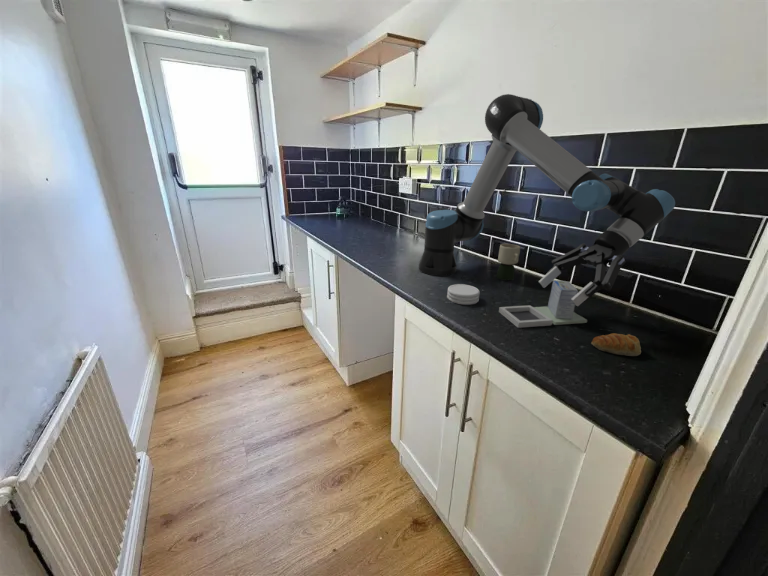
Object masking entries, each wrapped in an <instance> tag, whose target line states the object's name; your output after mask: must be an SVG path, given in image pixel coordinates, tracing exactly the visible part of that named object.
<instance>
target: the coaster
mask: <svg viewBox="0 0 768 576" xmlns="http://www.w3.org/2000/svg"><path fill="white" fill-rule="evenodd" d="M446 293H447V295H446V299H448V301H450V302H452V303H454V304H458V305H463V306H469V305H471V306H472V305H476V304H477V303H479V300H480V294H481V292H480V290H479V289H478V288H477V287H475V286H473V285H469V284H464V283H463V284H462V283H456V284H451V285H449V286H448V287H447V292H446Z"/></svg>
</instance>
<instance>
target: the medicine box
mask: <svg viewBox="0 0 768 576" xmlns="http://www.w3.org/2000/svg"><path fill="white" fill-rule="evenodd" d="M578 292H579V290H578V289H577V288H576V287H575V286H574V285H573V284H572V283H571V282H570V281H568V280H567V281H566V280H553V281H552V284H551V289H550V294H549V298H548V304H547V306H548V308H549V309H550V311H551V312H552V313H553V315H554V316H555V318H562V319H572V316H573V312H575V307H576V305H575V304H574V302H573V301H572V300H571V299H572V298H573V297H574V296H575V295H576V294H577V293H578Z"/></svg>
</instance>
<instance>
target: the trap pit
mask: <svg viewBox="0 0 768 576" xmlns="http://www.w3.org/2000/svg"><path fill="white" fill-rule="evenodd" d="M534 307H535V306H532V305H530V304H529V305H528V304H527V305H513V306H512V305H511V306H500V307H498V313H500V315H502V316H503V317H504V318H505V319H507V320H508V321H509V322H511V324H513V325H514V326H515V327H516V328H519V329H520V328H531V327H532V328H533V327H545V326H546V327H547V326H552V325H553V323H552V321H553V320H551V319H550V318H549V317H547V316H546V315H544V314H543V313H541V312H540V311H538V310H537V309H535V308H534Z"/></svg>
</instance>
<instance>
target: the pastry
mask: <svg viewBox="0 0 768 576" xmlns="http://www.w3.org/2000/svg"><path fill="white" fill-rule="evenodd" d="M590 344H591V345H592V346H593V347H594V348H596V349H597V350H599V351H601V352H606V353H610V354H613V355H620V356H629V357H638V356H640V355H641V353H642V350H641V349H642V347H641V343H640V340H639V338H638V337H636V336H635V335H632V334H622V333H616V332H615V333H614V332H613V333H610V334H605V335H604V334H602V335H601V334H600V335H598V336H595V337H593V339H592V340H591V343H590Z"/></svg>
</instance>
